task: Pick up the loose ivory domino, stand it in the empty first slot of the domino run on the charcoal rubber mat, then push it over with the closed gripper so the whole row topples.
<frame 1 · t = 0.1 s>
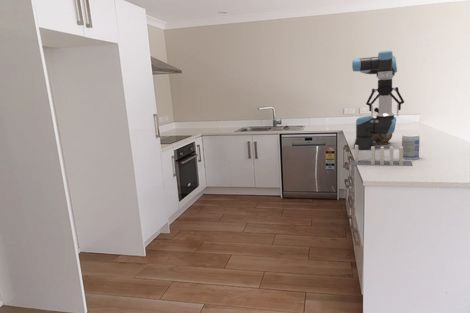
hand: (384, 116, 202), 28 cm above the countertop, fingers open, 13 cm apart
supplement tub: (410, 159, 213), on the countertop
domino 4: (400, 164, 200), resting on mat
domino 2: (382, 163, 204), resting on mat
ceramic jug: (382, 144, 269), on the countertop
domino 3: (391, 164, 202), resting on mat
domino 1: (372, 163, 206), resting on mat
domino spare: (356, 161, 215), resting on mat
mat: (380, 163, 207), on the countertop
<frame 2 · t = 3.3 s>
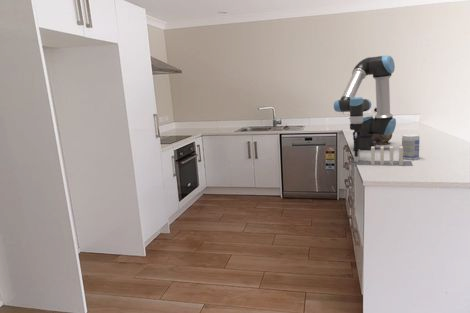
hand: (356, 160, 214), 1 cm above the countertop, fingers closed on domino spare, 5 cm apart
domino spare: (356, 161, 215), resting on mat, touching gripper
everything else where it was.
when the fingers open (2 cm above the countertop, at t = 7.9 s): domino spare stays where it is, resting on mat.
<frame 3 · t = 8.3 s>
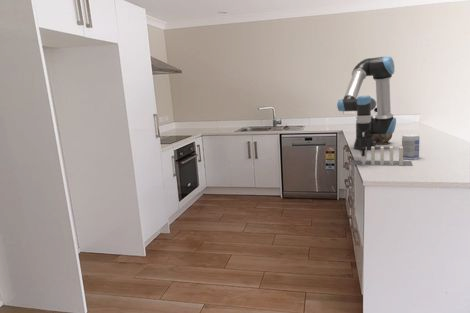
hand: (363, 159, 207), 3 cm above the countertop, fingers open, 10 cm apart
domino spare: (363, 163, 208), resting on mat
everything else where it was.
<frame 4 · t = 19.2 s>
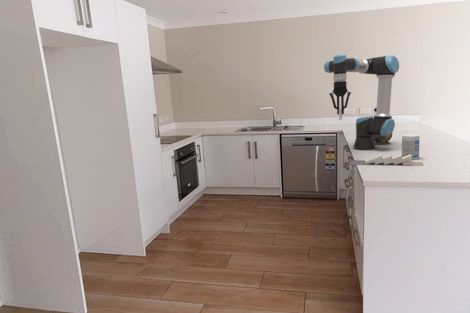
hand: (340, 119, 216), 26 cm above the countertop, fingers closed
domino 4: (402, 162, 199), point 1 cm above the countertop, tilted 90°, touching domino 3, mat
domino 2: (384, 162, 203), point 1 cm above the countertop, tilted 69°, touching domino 1, domino 3, mat
domino 3: (393, 162, 201), point 1 cm above the countertop, tilted 69°, touching domino 2, domino 4
domino 1: (374, 162, 205), point 1 cm above the countertop, tilted 69°, touching domino 2, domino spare, mat
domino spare: (365, 162, 207), point 1 cm above the countertop, tilted 69°, touching domino 1, mat
everything else where it was.
at the end: domino 4 tilted 90°; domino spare tilted 69°; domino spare inside the target area (0.0 cm from its centre), point 1.2 cm above the countertop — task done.
